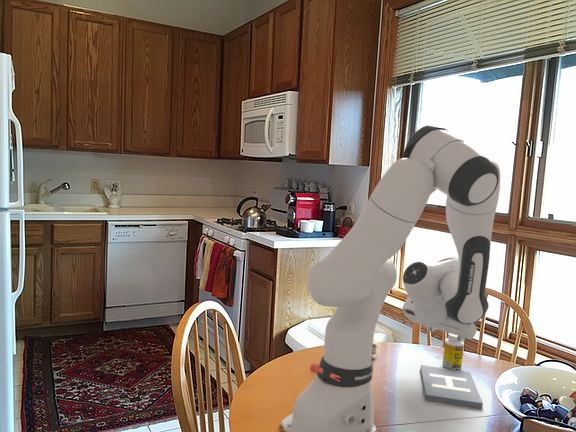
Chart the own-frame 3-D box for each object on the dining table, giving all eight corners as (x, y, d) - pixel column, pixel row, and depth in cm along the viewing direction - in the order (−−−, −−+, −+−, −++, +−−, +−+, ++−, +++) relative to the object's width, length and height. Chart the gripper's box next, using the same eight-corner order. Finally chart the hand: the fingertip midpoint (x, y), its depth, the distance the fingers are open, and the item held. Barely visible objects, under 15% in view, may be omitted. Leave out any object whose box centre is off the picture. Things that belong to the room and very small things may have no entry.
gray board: (482, 409, 123) (482, 403, 123) (425, 400, 126) (425, 394, 126) (469, 376, 142) (469, 371, 142) (420, 370, 145) (420, 364, 145)
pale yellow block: (360, 365, 147) (361, 347, 146) (343, 354, 154) (344, 337, 154) (386, 361, 151) (387, 344, 151) (368, 350, 159) (370, 334, 159)
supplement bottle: (453, 371, 145) (456, 338, 144) (438, 364, 150) (441, 332, 149) (465, 368, 149) (468, 336, 148) (450, 361, 153) (453, 330, 152)
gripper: (473, 307, 129) (485, 335, 137) (406, 290, 144) (421, 317, 151) (463, 326, 126) (477, 354, 134) (397, 307, 141) (412, 333, 149)
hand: (447, 334), depth 143 cm, fingers open, 8 cm apart
